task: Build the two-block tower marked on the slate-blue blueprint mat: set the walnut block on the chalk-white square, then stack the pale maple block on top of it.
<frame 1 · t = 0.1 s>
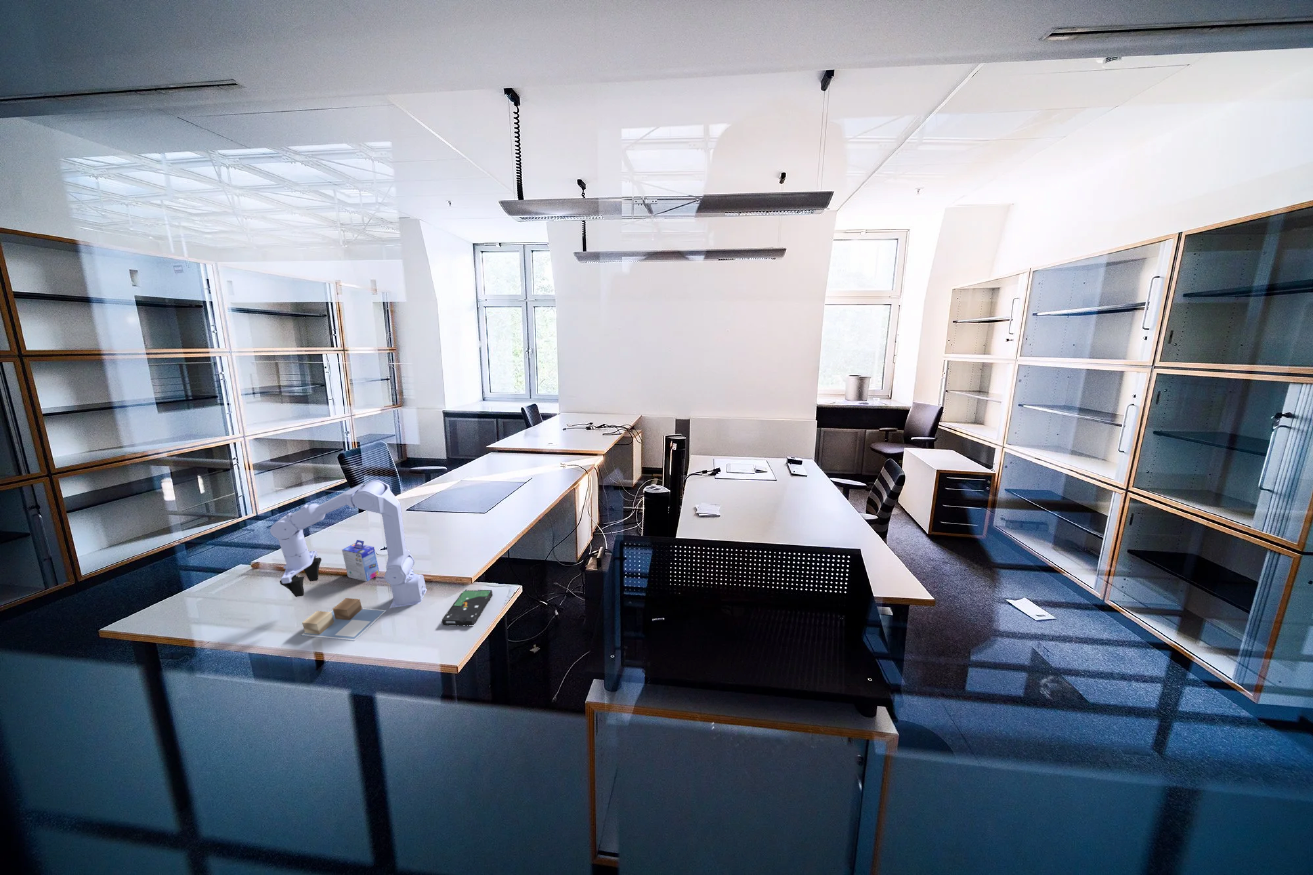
hand: (307, 587, 128), 10 cm above the table, tool pointing down, fingers open, 7 cm apart
maple block: (320, 627, 124), point 1 cm above the table, touching blueprint mat
disk drive: (469, 611, 133), on the table
walnut block: (349, 613, 130), point 1 cm above the table, touching blueprint mat
blueprint mat: (346, 623, 126), on the table
ink cartridge box: (364, 576, 149), on the table
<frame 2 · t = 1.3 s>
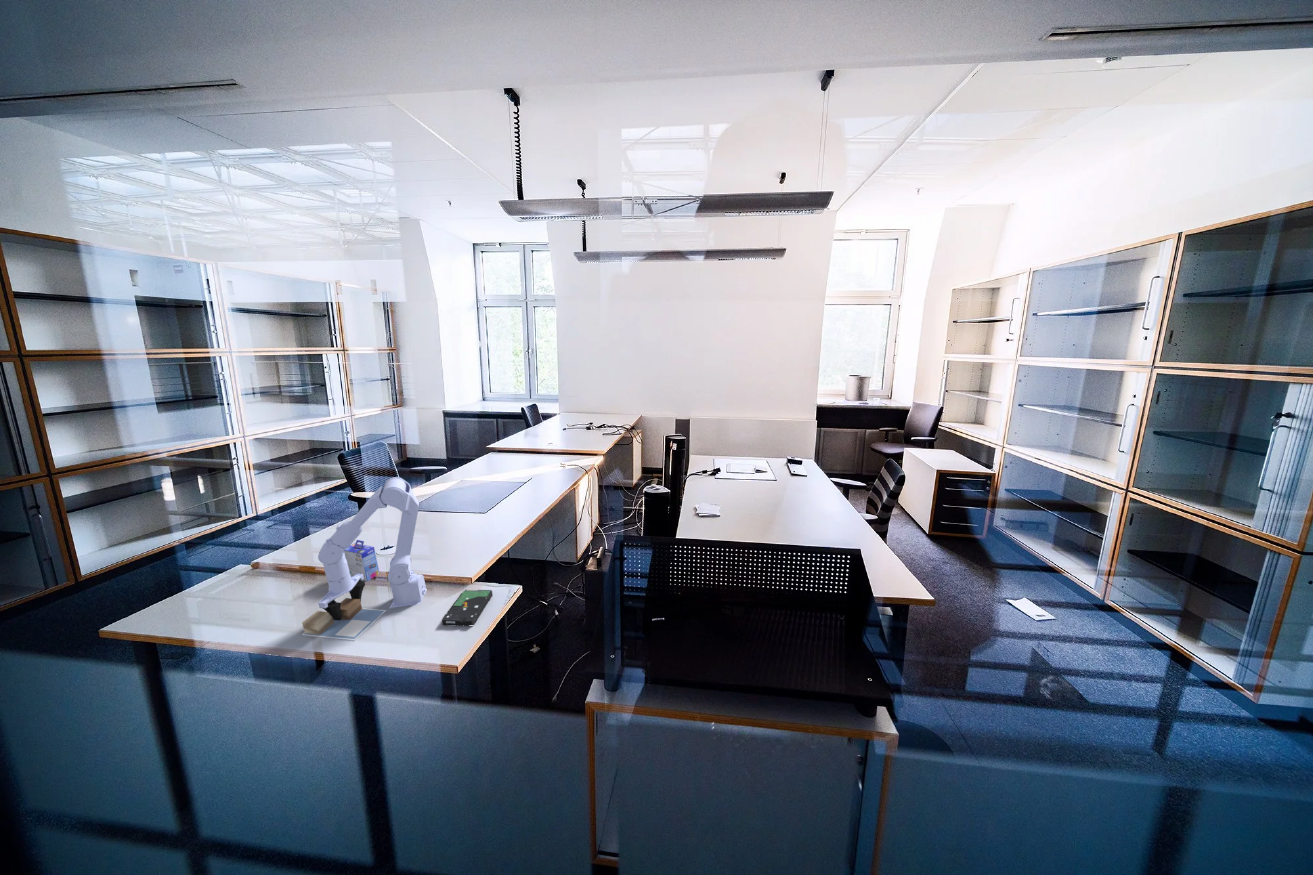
hand: (347, 611, 129), 2 cm above the table, tool pointing down, fingers open, 7 cm apart
maple block: (320, 627, 124), point 1 cm above the table, touching blueprint mat, gripper
everything else where it was.
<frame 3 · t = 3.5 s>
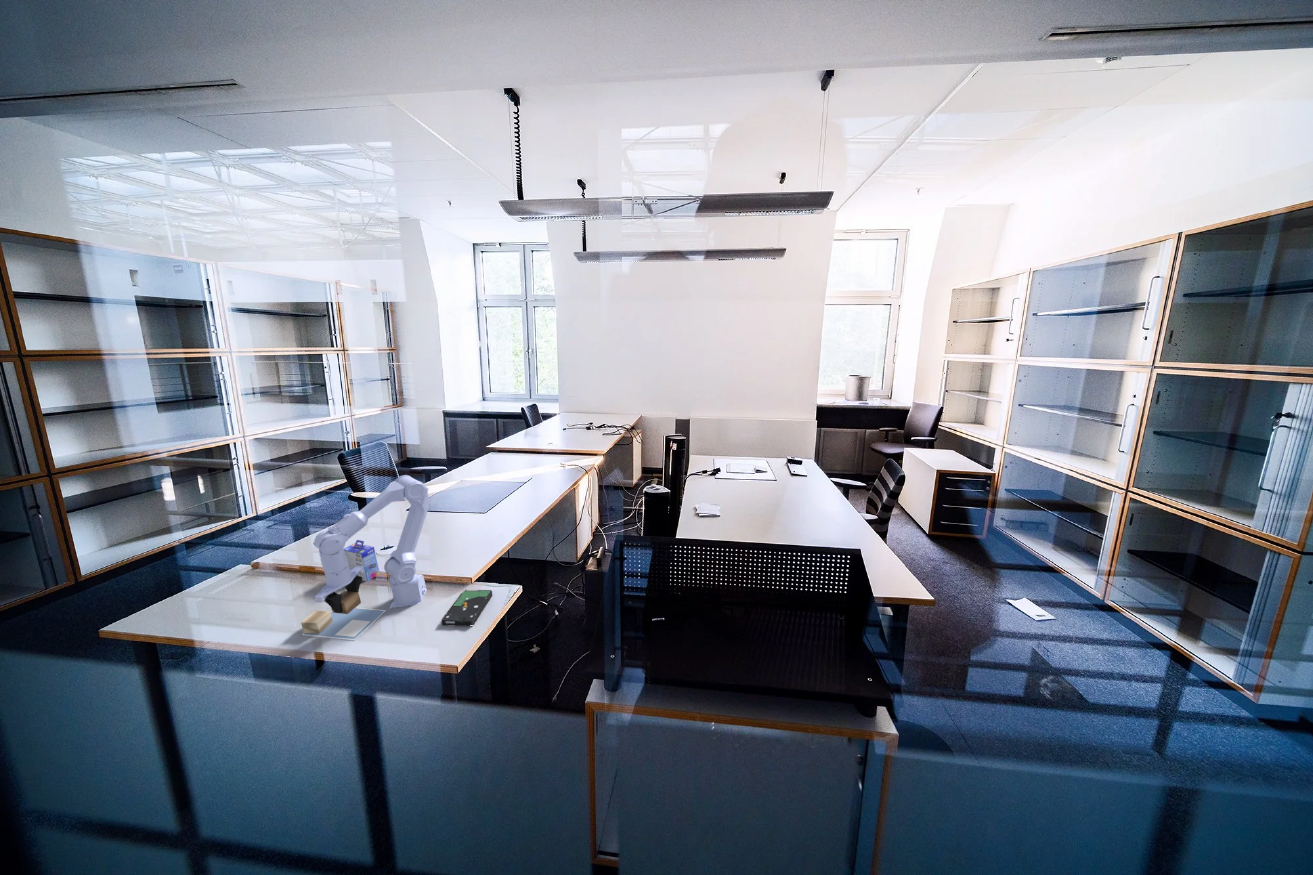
hand: (346, 605, 122), 8 cm above the table, tool pointing down, fingers closed on walnut block, 5 cm apart
maple block: (318, 627, 124), point 1 cm above the table, touching blueprint mat
walnut block: (347, 607, 123), point 8 cm above the table, touching gripper
everything else where it was.
when the fingers open (3 cm above the table, at t = 5.2 s): walnut block drops 1 cm, resting on blueprint mat.
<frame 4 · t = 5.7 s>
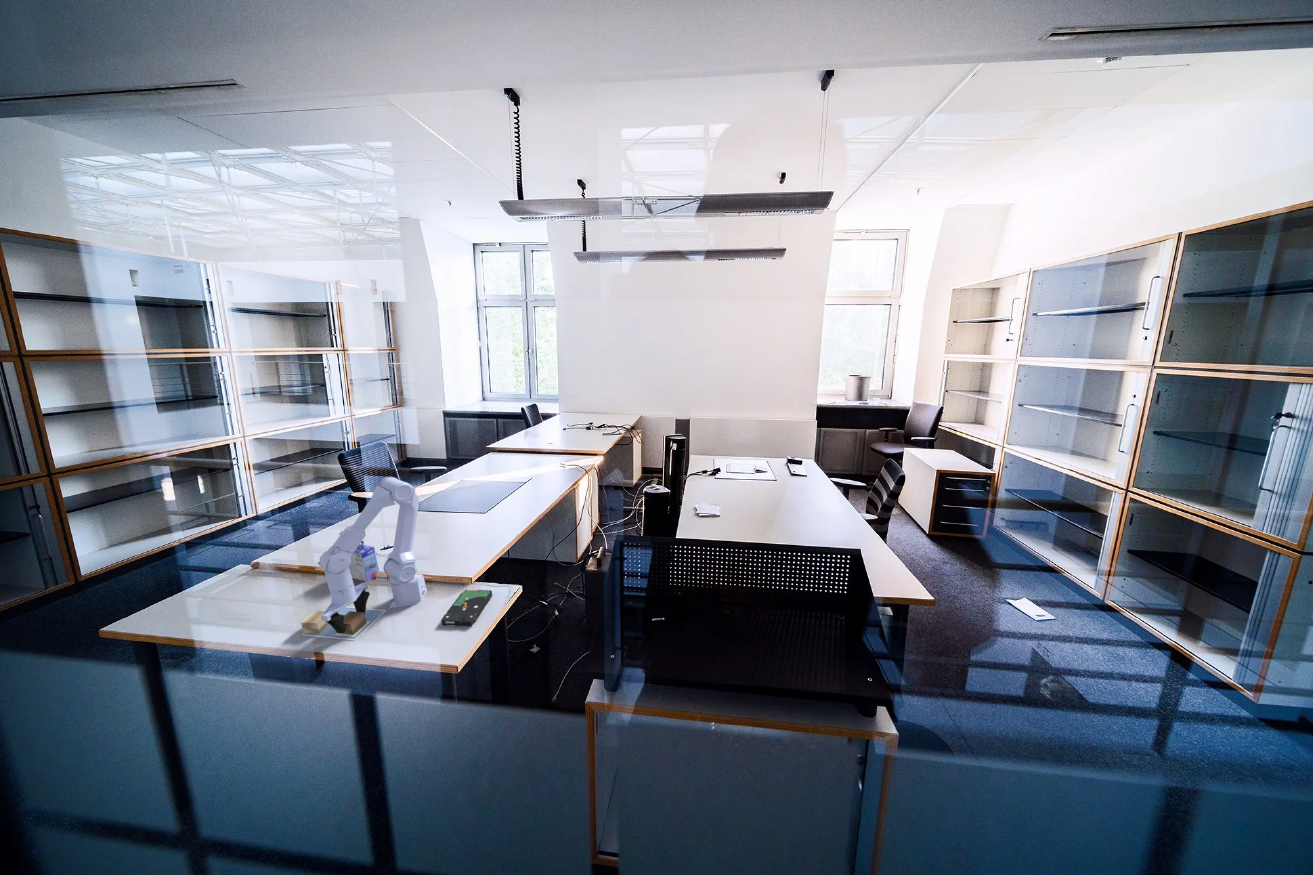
hand: (351, 623, 123), 3 cm above the table, tool pointing down, fingers open, 7 cm apart
walnut block: (353, 627, 124), point 1 cm above the table, touching blueprint mat
everything else where it was.
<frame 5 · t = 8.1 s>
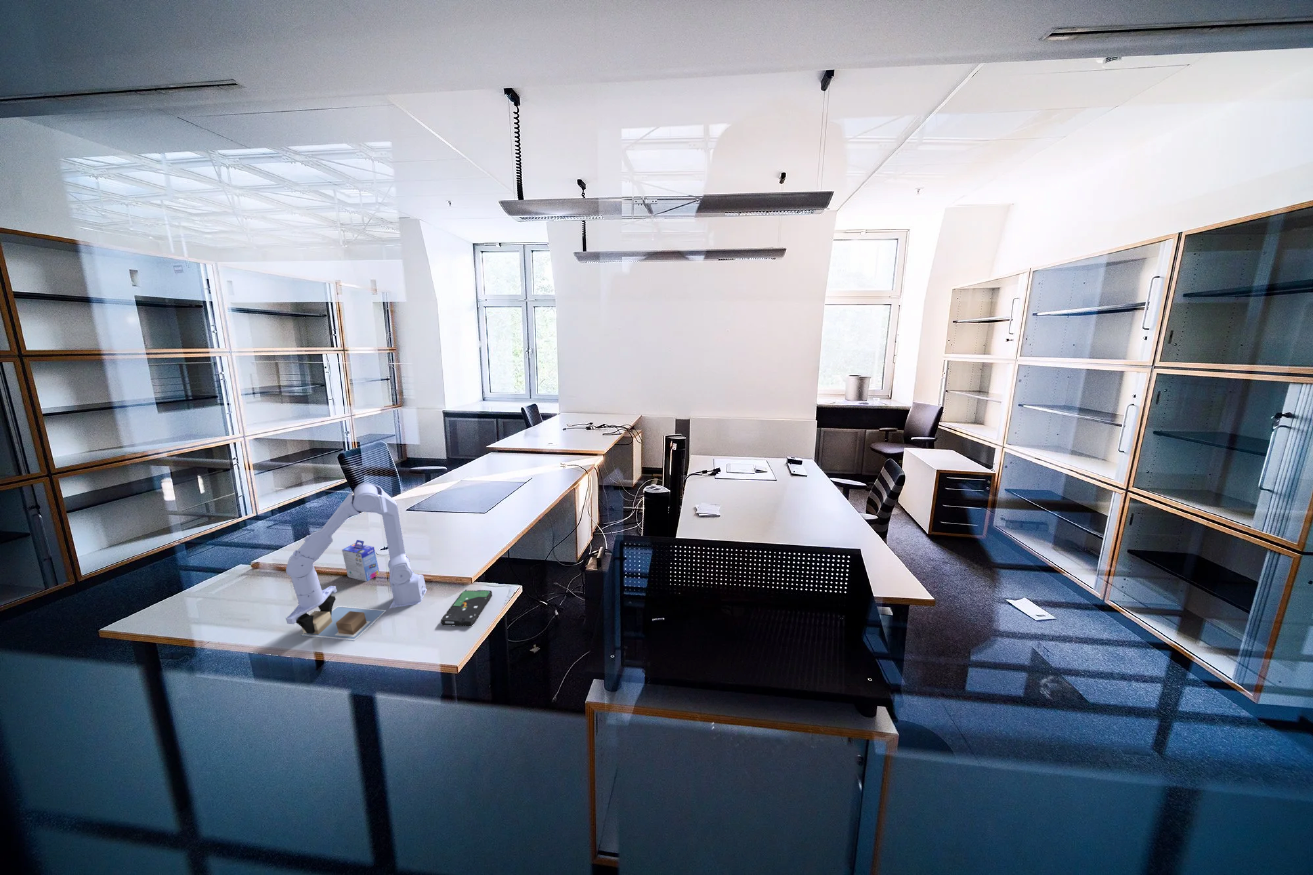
hand: (319, 625, 124), 1 cm above the table, tool pointing down, fingers closed on maple block, 5 cm apart
maple block: (318, 627, 124), point 1 cm above the table, touching blueprint mat, gripper
everything else where it was.
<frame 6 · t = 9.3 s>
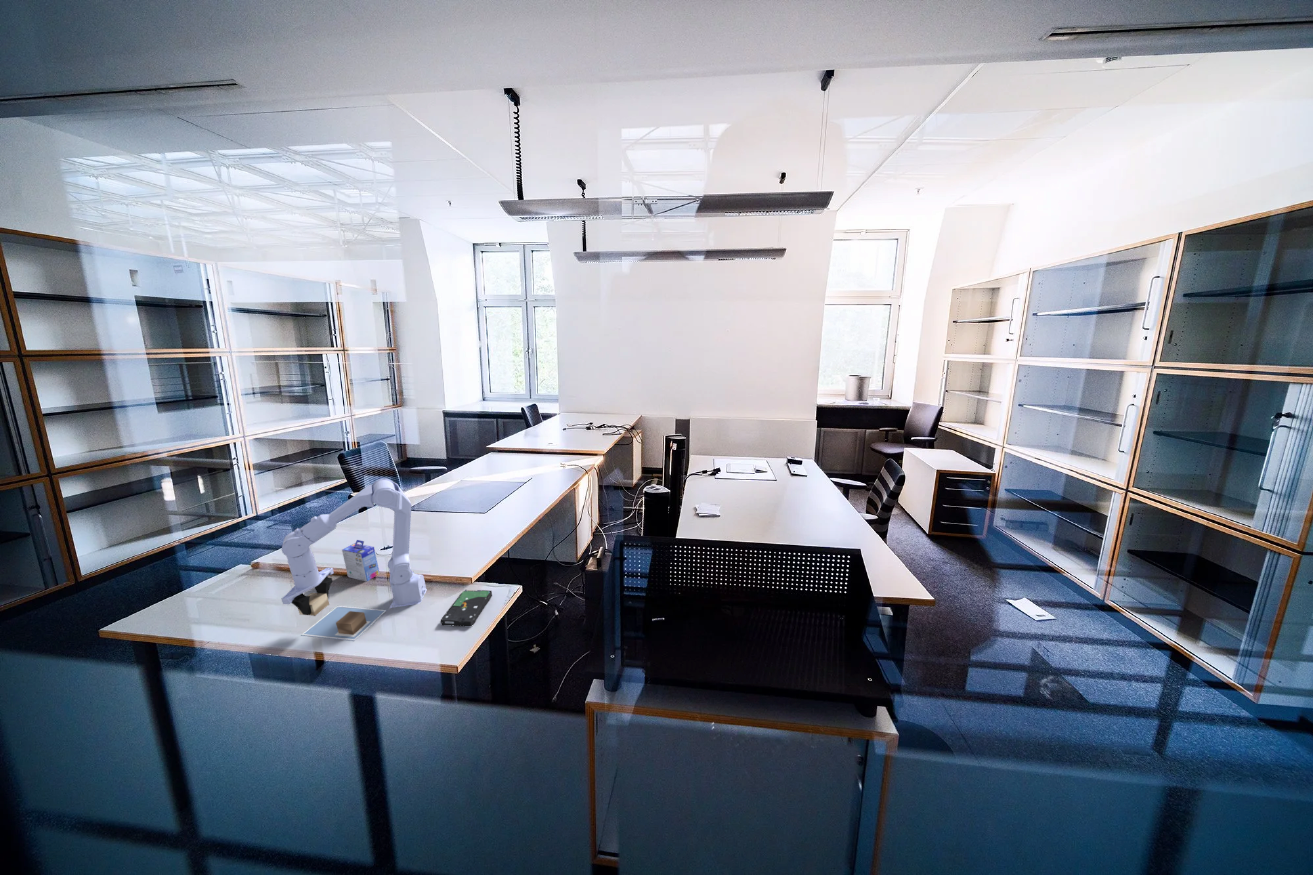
hand: (316, 607, 122), 8 cm above the table, tool pointing down, fingers closed on maple block, 5 cm apart
maple block: (314, 609, 122), point 8 cm above the table, touching gripper
everything else where it was.
when the fingers open (6 cm above the table, at t = 10.8 s): maple block stays where it is, resting on walnut block.
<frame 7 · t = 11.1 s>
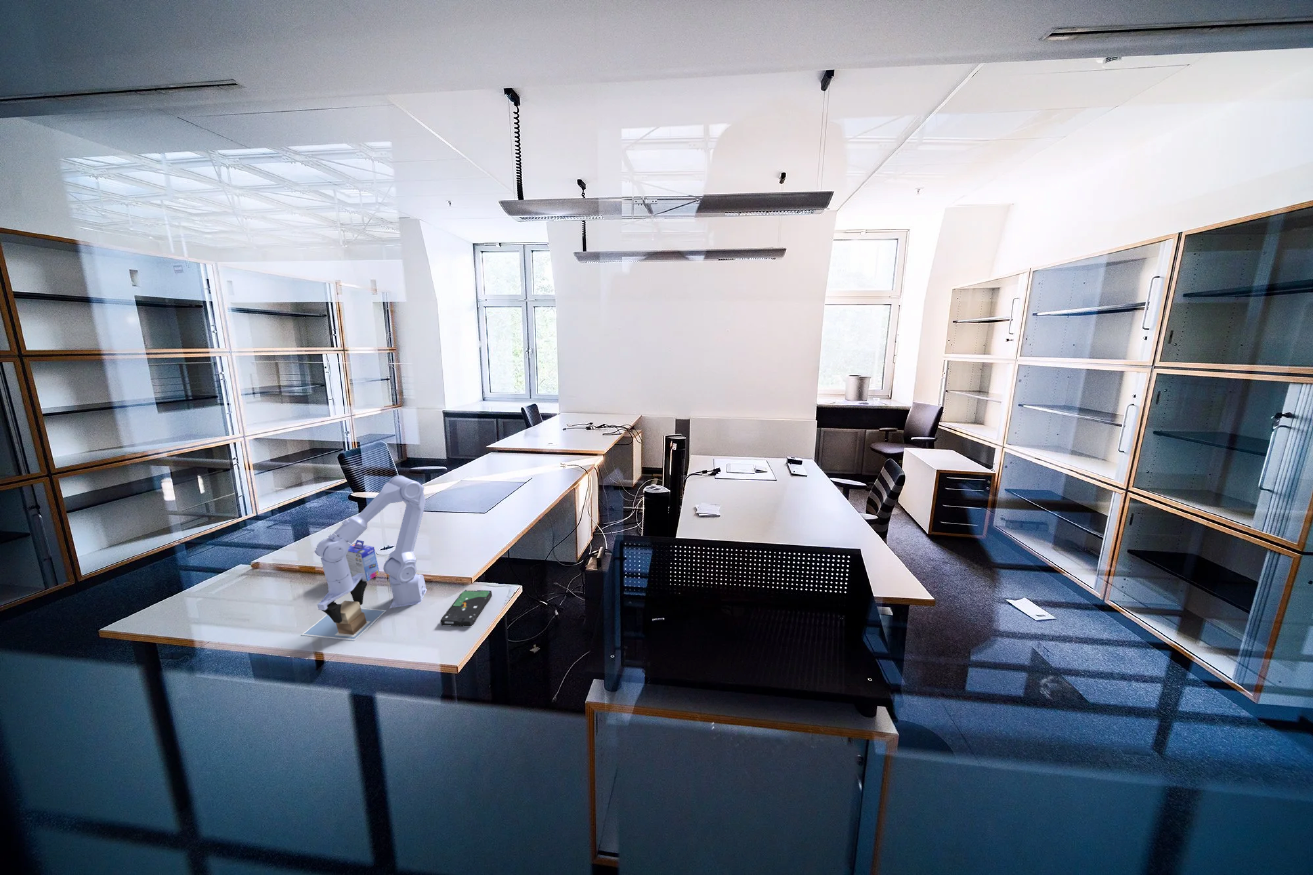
hand: (348, 612, 122), 7 cm above the table, tool pointing down, fingers open, 7 cm apart
maple block: (347, 617, 123), point 5 cm above the table, touching walnut block
walnut block: (353, 627, 124), point 1 cm above the table, touching blueprint mat, maple block
everything else where it was.
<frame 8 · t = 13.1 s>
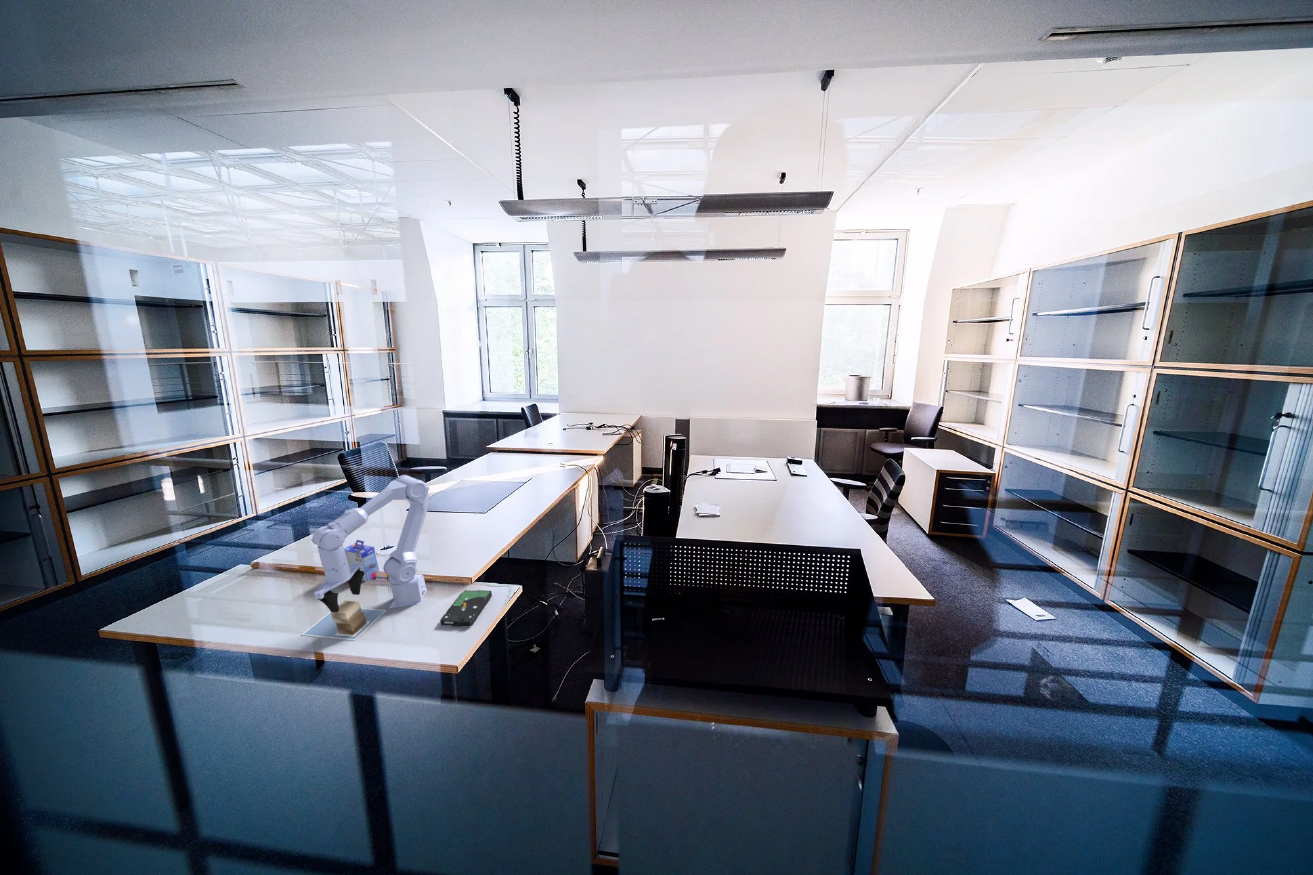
hand: (346, 602, 121), 10 cm above the table, tool pointing down, fingers open, 7 cm apart
nothing on the table moved.
at the end: walnut block 0.1 cm from the target spot, point 0.7 cm above the table; maple block 0.8 cm off-centre on the walnut block, point 4.0 cm above the walnut block's base; maple block tilted 0° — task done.
